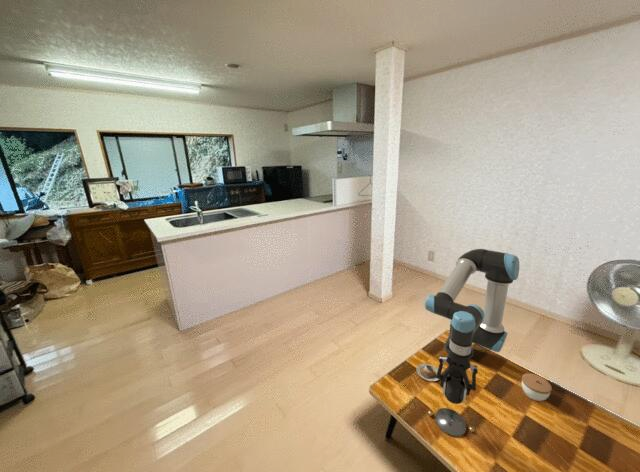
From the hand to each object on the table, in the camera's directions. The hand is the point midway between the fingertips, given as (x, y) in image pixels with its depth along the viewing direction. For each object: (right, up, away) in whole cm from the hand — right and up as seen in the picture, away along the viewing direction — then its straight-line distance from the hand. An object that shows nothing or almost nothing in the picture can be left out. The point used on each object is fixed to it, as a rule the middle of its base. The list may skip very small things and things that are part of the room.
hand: (453, 396), depth 107 cm
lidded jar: (+46, -9, +15) cm, 49 cm away
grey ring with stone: (+2, -7, +30) cm, 31 cm away
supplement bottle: (0, -1, 0) cm, 1 cm away
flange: (+1, -14, +4) cm, 15 cm away
